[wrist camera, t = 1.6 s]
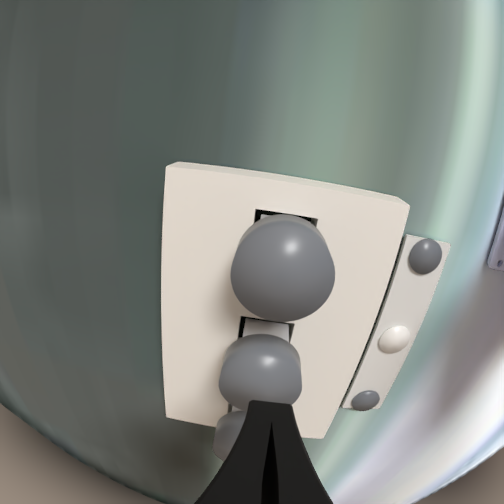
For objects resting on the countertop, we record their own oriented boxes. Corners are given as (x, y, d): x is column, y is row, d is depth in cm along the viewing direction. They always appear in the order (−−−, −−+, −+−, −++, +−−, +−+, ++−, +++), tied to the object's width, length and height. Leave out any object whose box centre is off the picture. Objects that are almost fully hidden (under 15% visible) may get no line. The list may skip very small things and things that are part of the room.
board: (396, 196, 16) (410, 205, 15) (321, 419, 23) (323, 438, 21) (178, 161, 17) (166, 166, 15) (172, 398, 24) (166, 416, 22)
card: (449, 241, 17) (452, 244, 17) (378, 406, 22) (379, 411, 22) (405, 232, 17) (408, 235, 17) (341, 405, 23) (342, 410, 22)
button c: (284, 389, 20) (284, 437, 16) (274, 424, 21) (272, 469, 18) (224, 380, 20) (213, 428, 16) (219, 416, 22) (211, 461, 18)
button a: (329, 208, 15) (346, 237, 12) (313, 282, 17) (321, 327, 13) (246, 195, 15) (236, 219, 12) (237, 271, 17) (225, 314, 13)
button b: (305, 314, 18) (311, 363, 14) (291, 367, 19) (292, 417, 15) (233, 303, 18) (221, 351, 14) (226, 358, 19) (215, 407, 15)
